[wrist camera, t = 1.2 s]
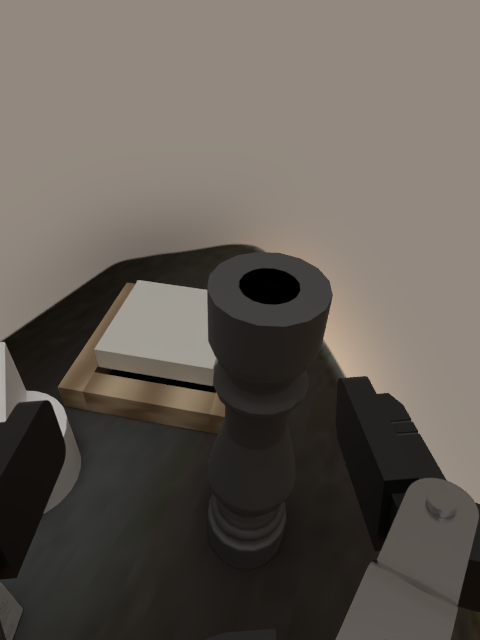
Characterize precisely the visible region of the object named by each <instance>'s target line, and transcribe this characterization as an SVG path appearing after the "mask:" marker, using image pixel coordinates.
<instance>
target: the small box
mask: <svg viewBox="0 0 480 640" xmlns="http://www.w3.org/2000/svg"><path fill="white" fill-rule="evenodd" d="M22 612H23V608H22V607H21V606H20V605H19V603H18V602H17V601H16V600H15V599H14V597H13V596H12V595H11V594H10V593H9V592H8V590H7V589H6V588H5V586H4V585H3V584H2V583H1V582H0V621H1V624H2V627H3V630H4V634H5V637H6V640H13V637H14V634H15V631H16V629H17V626H18V623H19V620H20V617H21V614H22Z"/></svg>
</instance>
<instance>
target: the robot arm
mask: <svg viewBox="0 0 480 640" xmlns="http://www.w3.org/2000/svg"><path fill="white" fill-rule="evenodd" d="M336 430H337V437H338V441H339V445H340V448H341V451H342V454H343V457H344V460H345V463H346V466H347V469H348V472H349V475H350V478H351V481H352V484H353V487H354V490H355V493H356V496H357V499H358V502H359V505H360V508H361V511H362V514H363V517H364V520H365V523H366V526H367V529H368V532H369V535H370V538H371V541H372V544H373V547H374V550H375V551H381V552H380V554H379V556H378V558H377V560H376V561H374V560H373V561H372V562H371V563H370V565H369V566H368V568H367V570H366V572H365V575H364V577H363V579H362V581H361V584H360V586H359V588H358V591H357V593H356V595H355V597H354V600H353V602H352V604H351V606H350V609H349V611H348V613H347V615H346V618H345V620H344V622H343V625H342V627H341V629H340V631H339V634H338V636H337V638H336V640H450V639H451V635H452V631H453V627H454V623H455V619H456V614H457V610H458V607H461V608H465V609H469V610H473V611H477V612H480V504H478V503H475V502H474V500H473V499H472V498H471V496H469V494H468V493H466V491H464V490H463V489H462V488H460V487H459V486H457V485H455V484H453V483H451V482H449V481H447V480H446V479H445V477H444V475H443V474H442V472H441V470H440V468H439V467H438V465H437V463H436V462H435V460H434V458H433V456H432V454H431V453H430V451H429V449H428V447H427V446H426V444H425V442H424V440H423V439H422V437H421V435H420V434H418V430H417V429H416V427H415V425H414V423H413V422H411V418H410V416H409V414H408V413H407V411H406V409H405V407H404V406H403V405H402V404H401V403H400V402H399V401H398V400H396V399H395V398H394V397H393V396H391V395H390V394H389V393H384V394H376V392H375V390H374V388H373V386H372V384H371V382H370V380H369V379H368V377H366V376H363V377H350V378H340V379H339V381H338V391H337V410H336ZM65 455H66V446H65V441H64V438H63V435H62V432H61V429H60V426H59V423H58V420H57V417H56V414H55V411H54V409H53V406H52V404H51V402H50V401H48V400H42V401H29V402H19V403H18V404H16V406H15V407H14V409H13V410H12V412H11V413H10V415H9V417H8V418H7V420H6V421H5V422H0V579H11V578H17V576H18V573H19V571H20V568H21V566H22V563H23V561H24V559H25V556H26V554H27V551H28V549H29V547H30V544H31V542H32V539H33V537H34V535H35V532H36V530H37V527H38V525H39V522H40V520H41V518H42V515H43V513H44V510H45V508H46V506H47V503H48V501H49V498H50V496H51V494H52V491H53V489H54V486H55V484H56V481H57V479H58V477H59V474H60V472H61V469H62V467H63V464H64V461H65ZM0 640H6V637H5V634H4V630H3V627H2V624H1V621H0ZM206 640H276V631H275V629H264V630H251V631H239V632H226V633H221V634H219V635H216V636H214V637H211V638H208V639H206Z"/></svg>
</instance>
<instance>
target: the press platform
mask: <svg viewBox="0 0 480 640" xmlns="http://www.w3.org/2000/svg"><path fill="white" fill-rule="evenodd" d="M94 351H95V355H96V359H97V363H98V366H99V367H103V368H109V369H115V370H121V371H127V372H133V373H138V374H144V375H150V376H156V377H162V378H168V379H174V380H179V381H185V382H191V383H197V384H203V385H209V386H213V377H214V367H215V365H216V364H217V362H218V360H217V358H216V357H215V355H214V353H213V351H212V348H211V346H210V344H209V342H208V305H207V290H203V289H196V288H189V287H182V286H175V285H168V284H161V283H154V282H147V281H141V280H138V281H137V283H136V284H135V286H134V287H133V289H132V291H131V292H130V294H129V295H128V297H127V298H126V300H125V302H124V303H123V305H122V306H121V308H120V309H119V311H118V313H117V314H116V316H115V317H114V319H113V320H112V322H111V323H110V325H109V327H108V328H107V330H106V331H105V333H104V334H103V336H102V338H101V339H100V341H99V342H98V344H97V345H96V347H95V349H94Z"/></svg>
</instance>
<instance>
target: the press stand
mask: <svg viewBox="0 0 480 640" xmlns="http://www.w3.org/2000/svg"><path fill="white" fill-rule="evenodd" d="M134 286H135V284H132V283H127V284H126V285H125V287H124V288H123V290H122V291H121V293H120V294H119V296H118V297H117V299H116V300H115V302H114V303H113V305H112V306H111V308H110V309H109V311H108V312H107V314H106V315H105V317H104V318H103V320H102V321H101V323H100V324H99V326H98V327H97V329H96V330H95V332H94V333H93V335H92V336H91V338H90V339H89V341H88V342H87V344H86V345H85V347H84V348H83V350H82V351H81V353H80V354H79V356H78V357H77V359H76V360H75V362H74V363H73V365H72V366H71V368H70V369H69V371H68V372H67V374H66V375H65V377H64V378H63V380H62V381H61V383H60V384H59V386H58V389H59V392H60V395H61V398H62V400H63V403H64V406H67V407H72V408H78V409H83V410H88V411H94V412H99V413H105V414H110V415H116V416H121V417H126V418H132V419H137V420H143V421H148V422H154V423H159V424H165V425H170V426H175V427H181V428H186V429H192V430H197V431H203V432H208V433H214V434H218V433H219V430H220V428H221V426H222V423H223V421H224V418H225V405H224V404H223V403H222V402H221V401H220V399H219V397H218V395H217V393H212V392H206V391H200V390H194V389H189V388H183V387H177V386H171V385H165V384H160V383H154V382H148V381H142V380H136V379H131V378H125V377H119V376H113V375H109V373H110V371H111V369H109V368H103V367H99V366H98V363H97V359H96V355H95V351H94V349H95V347H96V345H97V344H98V342H99V341H100V339H101V338H102V336H103V334H104V333H105V331H106V330H107V328H108V327H109V325H110V323H111V322H112V320H113V319H114V317H115V316H116V314H117V313H118V311H119V309H120V308H121V306H122V305H123V303H124V302H125V300H126V298H127V297H128V295H129V294H130V292H131V291H132V289H133V287H134Z"/></svg>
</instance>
